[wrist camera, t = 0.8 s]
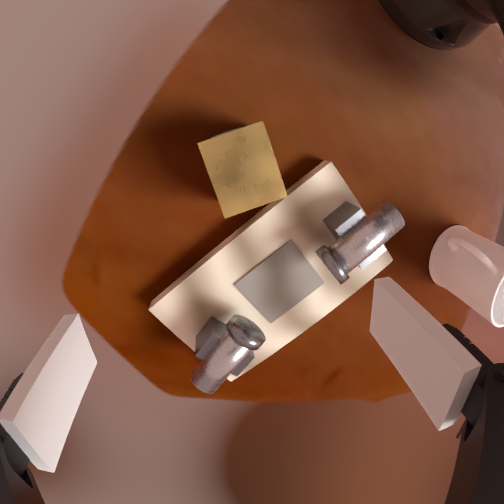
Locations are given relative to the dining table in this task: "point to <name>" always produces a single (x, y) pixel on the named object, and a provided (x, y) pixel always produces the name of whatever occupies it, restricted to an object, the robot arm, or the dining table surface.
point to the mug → (470, 271)
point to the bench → (269, 270)
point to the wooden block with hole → (242, 169)
